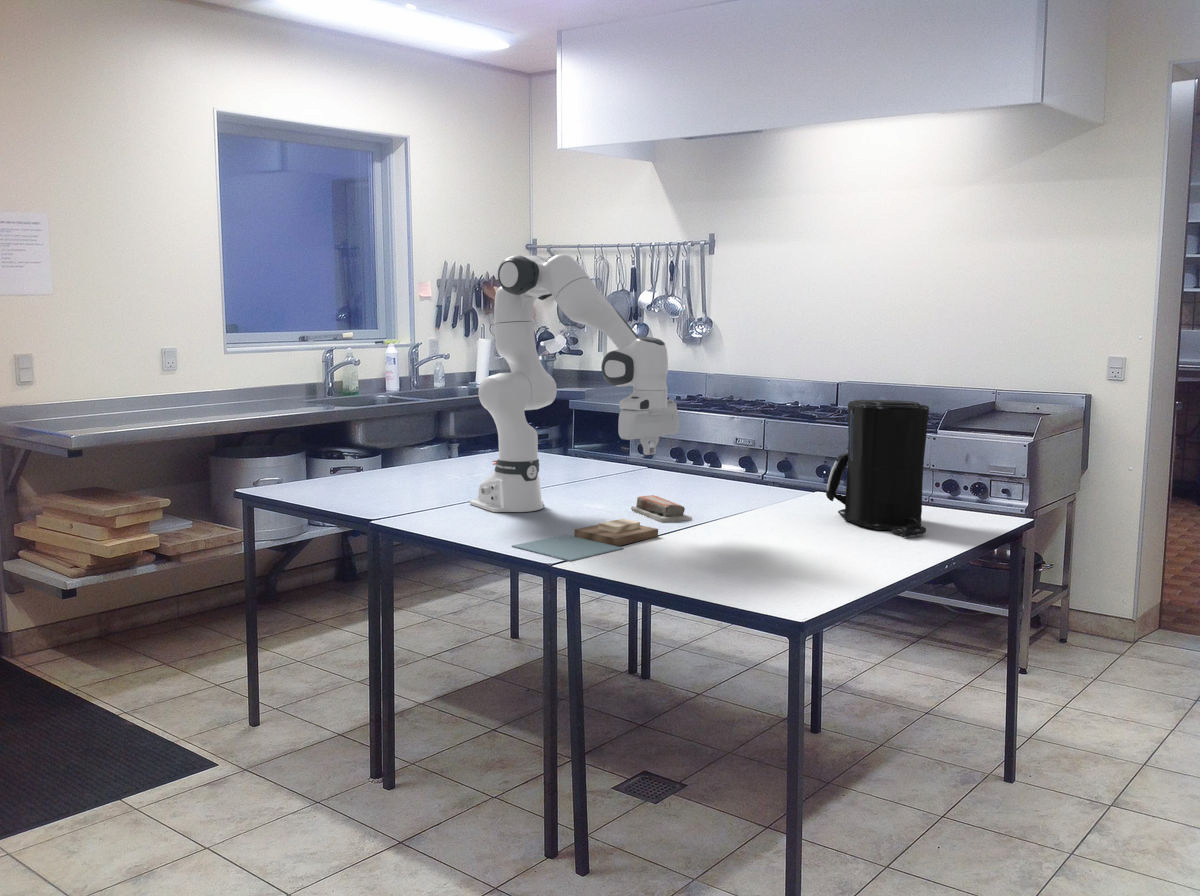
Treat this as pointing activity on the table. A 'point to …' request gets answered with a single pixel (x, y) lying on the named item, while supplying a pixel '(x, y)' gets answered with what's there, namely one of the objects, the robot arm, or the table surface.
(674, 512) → the packaged product
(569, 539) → the rubber mat
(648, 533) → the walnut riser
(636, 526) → the birch block
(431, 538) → the table surface
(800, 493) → the table surface
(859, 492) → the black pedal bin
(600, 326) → the robot arm
